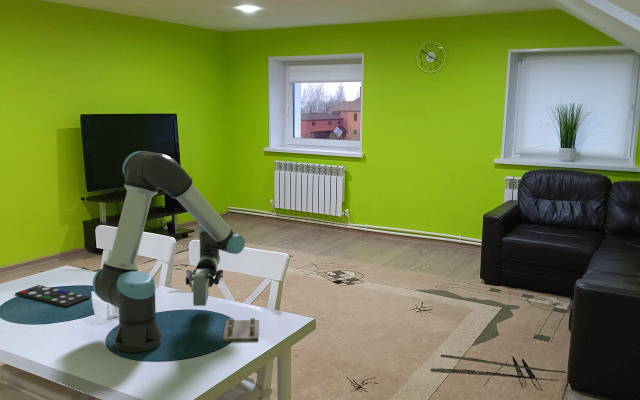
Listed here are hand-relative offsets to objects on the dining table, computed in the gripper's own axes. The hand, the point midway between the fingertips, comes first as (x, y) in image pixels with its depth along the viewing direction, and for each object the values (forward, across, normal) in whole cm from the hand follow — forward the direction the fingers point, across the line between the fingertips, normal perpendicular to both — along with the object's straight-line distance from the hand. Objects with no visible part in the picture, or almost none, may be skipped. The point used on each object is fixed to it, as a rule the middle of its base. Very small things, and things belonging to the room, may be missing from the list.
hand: (199, 288), depth 188 cm
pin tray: (-4, -14, -18) cm, 23 cm away
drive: (-4, 0, -6) cm, 7 cm away
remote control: (-43, +65, -19) cm, 80 cm away
